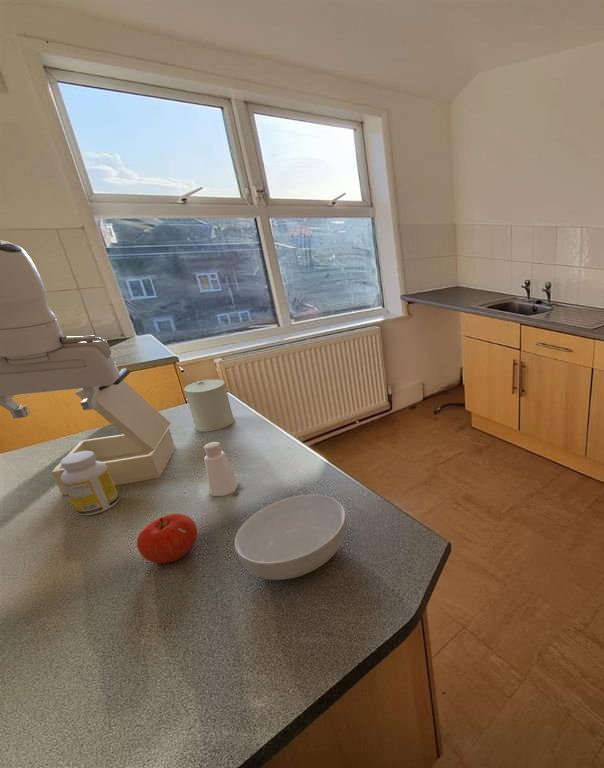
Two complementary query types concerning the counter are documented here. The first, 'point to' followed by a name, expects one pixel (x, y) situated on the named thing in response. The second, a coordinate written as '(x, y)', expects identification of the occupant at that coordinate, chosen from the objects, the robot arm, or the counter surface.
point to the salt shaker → (218, 471)
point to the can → (209, 405)
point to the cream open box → (124, 458)
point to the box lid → (129, 413)
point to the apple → (167, 538)
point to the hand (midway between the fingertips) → (57, 412)
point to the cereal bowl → (291, 536)
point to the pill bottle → (88, 483)
